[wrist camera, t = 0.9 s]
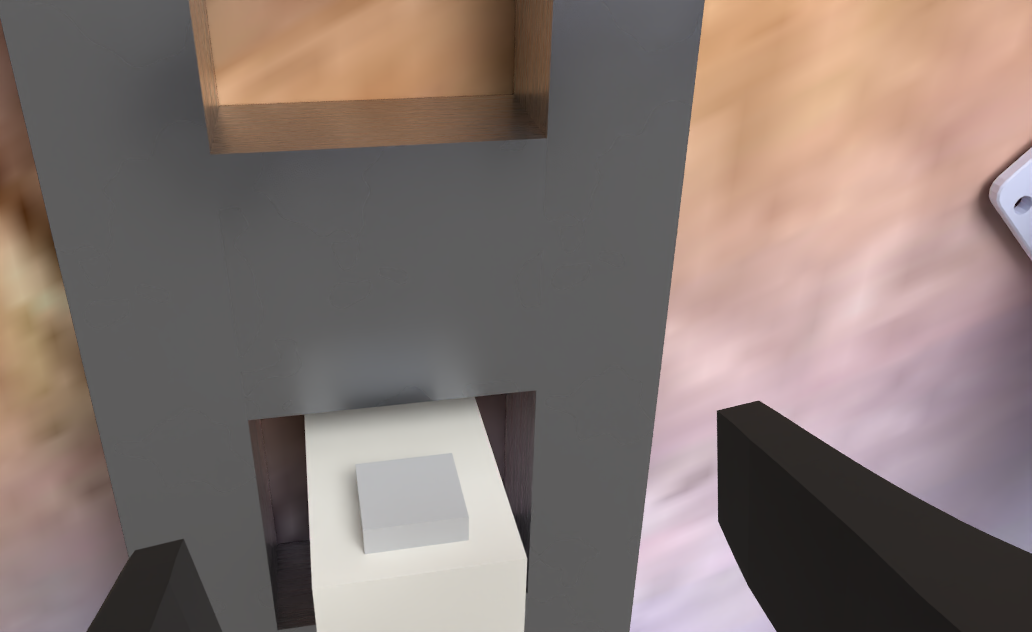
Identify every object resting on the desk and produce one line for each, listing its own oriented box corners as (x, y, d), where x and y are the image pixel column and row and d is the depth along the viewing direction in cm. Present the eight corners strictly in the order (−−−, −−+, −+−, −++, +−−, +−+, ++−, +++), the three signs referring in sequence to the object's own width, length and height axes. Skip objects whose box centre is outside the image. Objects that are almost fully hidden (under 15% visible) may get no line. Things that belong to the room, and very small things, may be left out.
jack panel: (595, 576, 28) (626, 654, 26) (180, 637, 26) (170, 730, 23) (684, -419, 17) (758, -455, 14) (-59, -477, 14) (-132, -533, 12)
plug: (464, 487, 26) (521, 700, 20) (316, 506, 25) (327, 733, 19) (464, 343, 23) (528, 534, 17) (300, 359, 23) (309, 564, 17)
